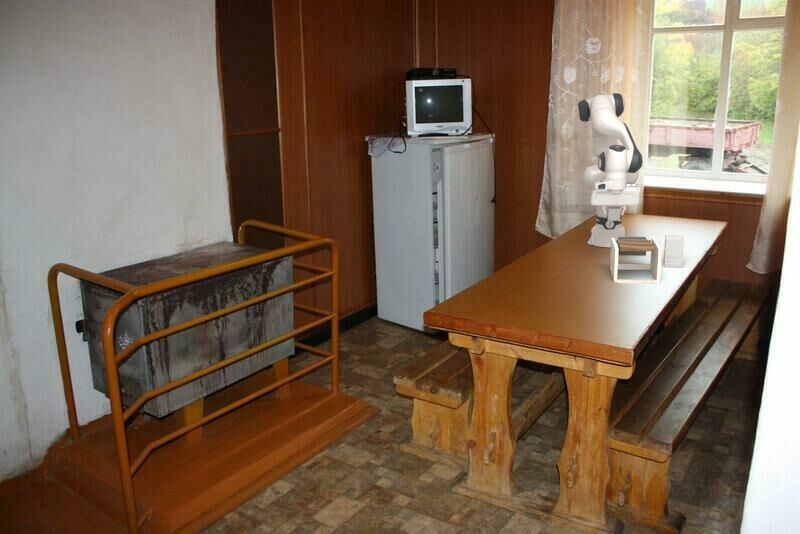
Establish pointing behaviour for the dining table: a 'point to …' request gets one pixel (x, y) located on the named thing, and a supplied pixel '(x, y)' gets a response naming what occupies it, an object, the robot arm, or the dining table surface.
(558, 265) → the dining table surface
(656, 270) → the frame
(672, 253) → the supplement box
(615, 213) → the light grey cube
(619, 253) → the trapdoor
